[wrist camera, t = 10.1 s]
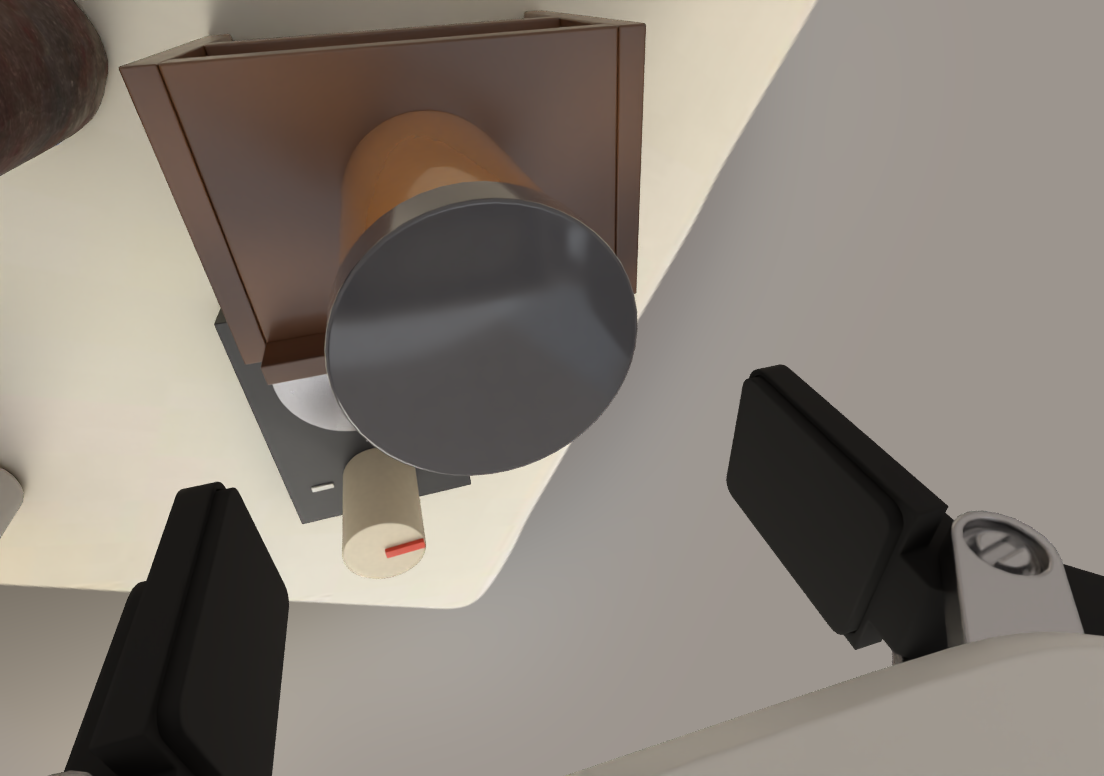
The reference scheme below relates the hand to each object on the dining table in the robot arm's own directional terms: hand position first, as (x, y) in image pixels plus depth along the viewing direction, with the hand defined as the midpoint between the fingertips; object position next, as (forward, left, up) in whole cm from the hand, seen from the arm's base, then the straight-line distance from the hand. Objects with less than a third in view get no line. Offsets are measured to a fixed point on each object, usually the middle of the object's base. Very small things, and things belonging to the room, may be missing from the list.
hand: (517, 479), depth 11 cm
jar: (-1, 0, -13) cm, 13 cm away
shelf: (-1, 0, -27) cm, 27 cm away
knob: (+20, -6, -24) cm, 32 cm away
